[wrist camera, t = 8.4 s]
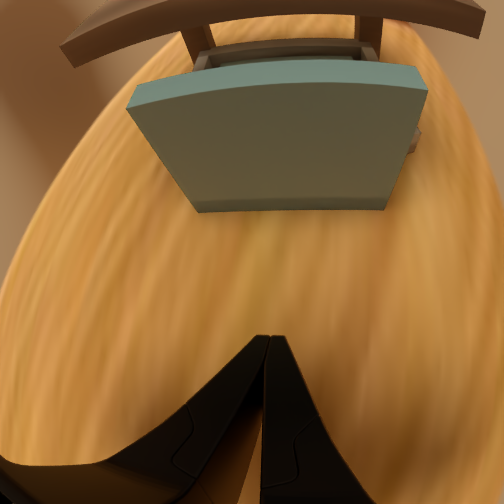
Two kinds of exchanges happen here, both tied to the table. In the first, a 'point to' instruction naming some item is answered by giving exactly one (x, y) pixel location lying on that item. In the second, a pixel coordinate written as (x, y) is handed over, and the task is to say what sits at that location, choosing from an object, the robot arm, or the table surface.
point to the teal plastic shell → (283, 131)
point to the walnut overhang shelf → (259, 5)
